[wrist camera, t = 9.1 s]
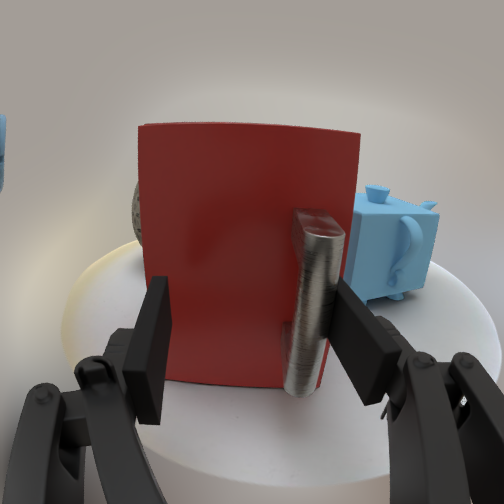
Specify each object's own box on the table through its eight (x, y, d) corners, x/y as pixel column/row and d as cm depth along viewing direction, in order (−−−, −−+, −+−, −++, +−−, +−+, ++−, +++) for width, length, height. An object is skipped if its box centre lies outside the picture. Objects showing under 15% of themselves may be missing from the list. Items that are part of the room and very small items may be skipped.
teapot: (357, 330, 28) (383, 200, 24) (293, 267, 42) (301, 173, 37) (457, 300, 34) (481, 206, 29) (389, 257, 47) (401, 180, 43)
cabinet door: (328, 438, 16) (399, 133, 10) (143, 426, 17) (93, 124, 10) (317, 378, 22) (355, 133, 16) (164, 370, 22) (144, 126, 16)
